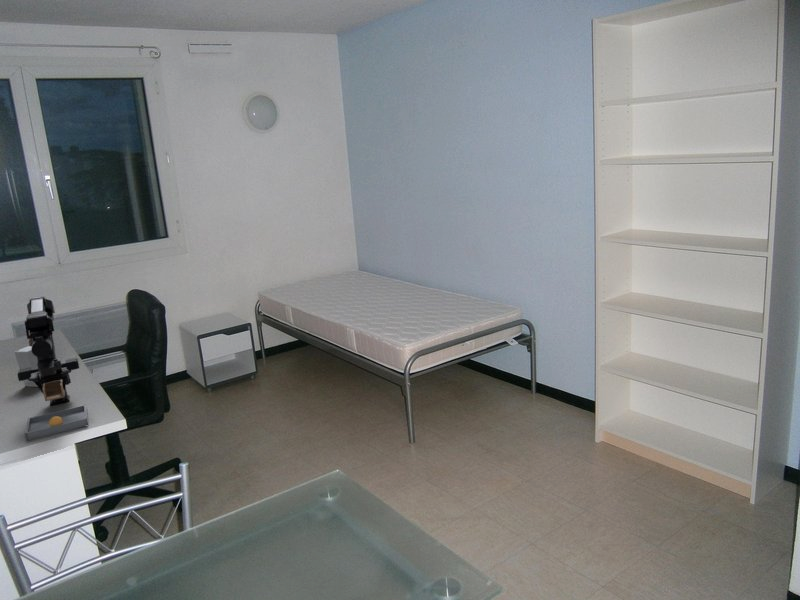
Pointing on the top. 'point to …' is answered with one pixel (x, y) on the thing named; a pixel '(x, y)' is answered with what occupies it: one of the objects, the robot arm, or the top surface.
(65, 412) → the tray
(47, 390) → the scoop
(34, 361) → the skincare box
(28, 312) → the robot arm
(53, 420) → the ball
